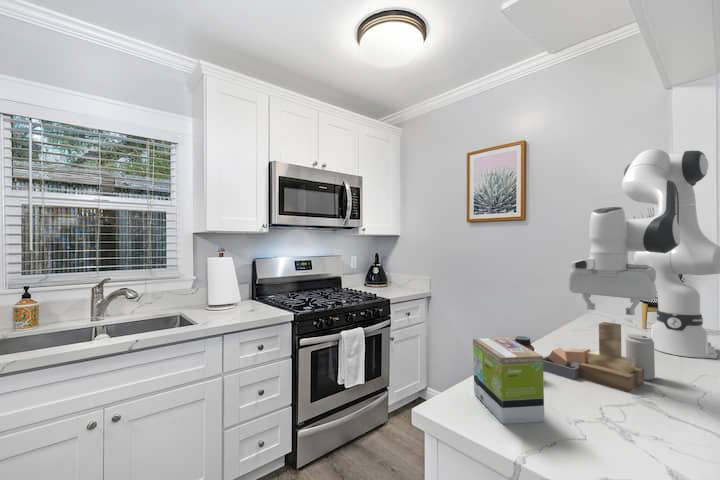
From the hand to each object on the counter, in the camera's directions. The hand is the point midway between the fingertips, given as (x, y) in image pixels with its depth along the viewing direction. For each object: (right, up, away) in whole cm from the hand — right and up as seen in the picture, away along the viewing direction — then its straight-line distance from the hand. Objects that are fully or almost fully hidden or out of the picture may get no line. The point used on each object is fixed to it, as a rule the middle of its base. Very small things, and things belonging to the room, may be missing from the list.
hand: (610, 312), depth 96 cm
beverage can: (+10, -20, +2) cm, 22 cm away
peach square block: (-8, -15, +10) cm, 20 cm away
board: (0, -19, 0) cm, 19 cm away
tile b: (-5, -16, +6) cm, 18 cm away
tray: (-7, -20, +9) cm, 22 cm away
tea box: (-37, -20, -16) cm, 45 cm away
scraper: (0, -15, 0) cm, 15 cm away
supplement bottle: (-23, -20, +3) cm, 31 cm away
